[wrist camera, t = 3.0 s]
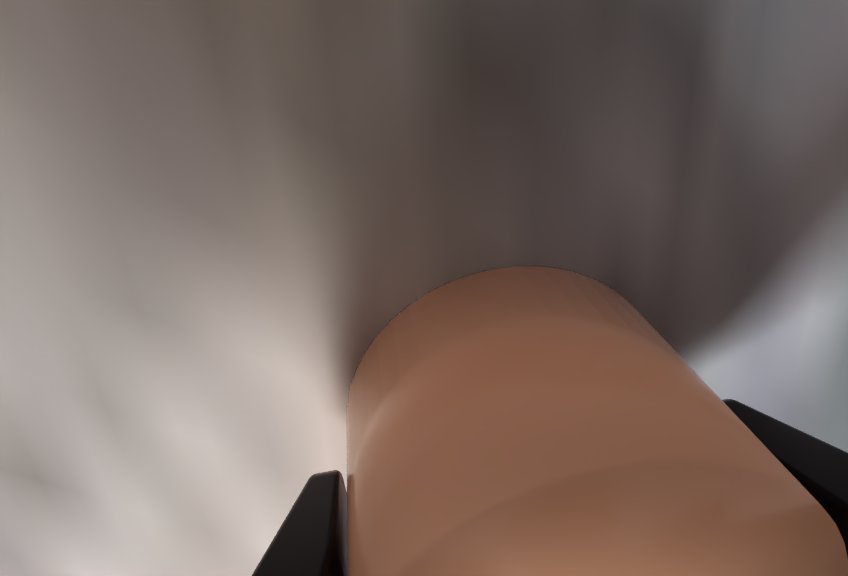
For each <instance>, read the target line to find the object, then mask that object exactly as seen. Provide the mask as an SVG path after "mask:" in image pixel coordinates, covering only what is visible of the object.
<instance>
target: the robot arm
mask: <svg viewBox="0 0 848 576" xmlns="http://www.w3.org/2000/svg"><path fill="white" fill-rule="evenodd" d="M722 401H723V402H724V403H725V404H726V405H727V406H728V407H729V408H730V409H731V410H732V412H733V413H734V414H735V415H736V416H737V417H738V418H739V419H740V420H741V421H742V422H743V423H744V424H745V425H746V426H747V427H748V428H749V430H750V431H751V432H752V433H753V434H754V435H755V436H756V437H757V438H758V439H759V440H760V441H761V442H762V443H763V444H764V445H765V446H766V448H767V449H768V450H769V451H770V452H771V453H772V454H773V455H774V456H775V457H776V458H777V459H778V460H779V461H780V462H781V463H782V464H783V465H784V467H785V468H786V469H787V470H788V471H789V472H790V473H791V474H792V475H793V476H794V477H795V478H796V479H797V480H798V481H799V482H800V483H801V485H802V486H803V487H804V488H805V489H806V490H807V491H808V492H809V493H810V494H811V495H812V496H813V497H814V498H815V499H816V500H817V501H818V503H819V504H820V505H821V506H822V507H823V508H824V509H825V511H826V512H827V513H828V514H829V516H830V517H831V518H832V520H833V521H834V522H835V523H836V525H837V527H838V530H839V532H840V534H841V536H842V538H843V541H844V543H845V548H846V553H847V558H848V453H847V452H845V451H843V450H840V449H838V448H836V447H834V446H832V445H830V444H828V443H825V442H823V441H821V440H819V439H817V438H815V437H813V436H810V435H808V434H806V433H804V432H802V431H800V430H798V429H796V428H793V427H791V426H789V425H787V424H785V423H783V422H781V421H778V420H776V419H774V418H772V417H770V416H768V415H766V414H763V413H761V412H759V411H757V410H755V409H753V408H751V407H749V406H746V405H744V404H742V403H740V402H738V401H735V400H732V399H724V400H722ZM252 576H347V492H346V488H345V485H344V481H343V477H342V474H341V473H340V472H339V471H337V470H334V471H328V472H323V473H317V474H314V475H312V476H311V477H310V478H309V480H308V482H307V483H306V485H305V487H304V488H303V490H302V492H301V493H300V495H299V497H298V498H297V500H296V502H295V503H294V505H293V507H292V509H291V510H290V512H289V514H288V515H287V517H286V519H285V520H284V522H283V524H282V525H281V527H280V529H279V531H278V532H277V534H276V536H275V537H274V539H273V541H272V542H271V544H270V546H269V547H268V549H267V551H266V553H265V554H264V556H263V558H262V559H261V561H260V563H259V564H258V566H257V568H256V569H255V571H254V573H253V574H252Z"/></svg>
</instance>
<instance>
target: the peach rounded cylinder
mask: <svg viewBox="0 0 848 576" xmlns="http://www.w3.org/2000/svg"><path fill="white" fill-rule="evenodd" d="M347 576H848V558H847V553H846V548H845V543H844V541H843V538H842V536H841V534H840V532H839V530H838V527H837V525H836V523H835V522H834V521H833V520H832V518H831V517H830V516H829V514H828V513H827V512H826V511H825V509H824V508H823V507H822V506H821V505H820V504H819V503H818V501H817V500H816V499H815V498H814V497H813V496H812V495H811V494H810V493H809V492H808V491H807V490H806V489H805V488H804V487H803V486H802V485H801V483H800V482H799V481H798V480H797V479H796V478H795V477H794V476H793V475H792V474H791V473H790V472H789V471H788V470H787V469H786V468H785V467H784V465H783V464H782V463H781V462H780V461H779V460H778V459H777V458H776V457H775V456H774V455H773V454H772V453H771V452H770V451H769V450H768V449H767V448H766V446H765V445H764V444H763V443H762V442H761V441H760V440H759V439H758V438H757V437H756V436H755V435H754V434H753V433H752V432H751V431H750V430H749V428H748V427H747V426H746V425H745V424H744V423H743V422H742V421H741V420H740V419H739V418H738V417H737V416H736V415H735V414H734V413H733V412H732V410H731V409H730V408H729V407H728V406H727V405H726V404H725V403H724V402H723V401H722V400H721V399H720V398H719V397H718V396H717V395H716V394H715V393H714V391H713V390H712V389H711V388H710V387H709V386H708V385H707V384H706V383H705V382H704V381H703V380H702V379H701V378H700V377H699V376H698V375H697V373H696V372H695V371H694V370H693V369H692V368H691V367H690V366H689V365H688V364H687V363H686V362H685V361H684V360H683V359H682V358H681V357H680V356H679V354H678V353H677V352H676V351H675V350H674V349H673V348H672V347H671V346H670V345H669V344H668V343H667V342H666V341H665V340H664V339H663V338H662V336H661V335H660V334H659V333H658V332H657V331H656V330H655V329H654V328H653V327H652V326H651V325H650V324H649V323H648V322H647V321H646V320H645V318H644V317H643V316H642V315H641V314H640V313H639V312H638V311H637V310H636V309H635V308H634V307H633V306H632V305H631V304H630V303H629V302H628V301H627V300H625V299H624V298H623V297H622V296H621V295H620V294H619V293H617V292H616V291H614V290H612V289H611V288H609V287H608V286H606V285H604V284H603V283H601V282H599V281H596V280H594V279H592V278H590V277H587V276H585V275H582V274H579V273H575V272H571V271H568V270H564V269H558V268H551V267H543V266H514V267H505V268H496V269H491V270H487V271H483V272H478V273H474V274H470V275H468V276H465V277H462V278H459V279H457V280H454V281H451V282H449V283H447V284H445V285H443V286H441V287H438V288H436V289H434V290H432V291H430V292H428V293H427V294H425V295H424V296H422V297H421V298H419V299H418V300H416V301H415V302H413V303H412V304H410V305H409V306H407V307H406V308H405V309H404V310H403V311H401V312H400V313H399V314H398V315H397V316H395V317H394V318H393V319H392V320H391V321H390V322H389V323H388V324H387V325H386V326H385V327H384V328H383V330H382V331H381V332H380V333H379V334H378V335H377V336H376V338H375V339H374V340H373V342H372V343H371V345H370V346H369V348H368V349H367V350H366V352H365V353H364V355H363V357H362V359H361V361H360V363H359V365H358V367H357V369H356V371H355V374H354V377H353V380H352V383H351V386H350V390H349V396H348V401H347Z"/></svg>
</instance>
